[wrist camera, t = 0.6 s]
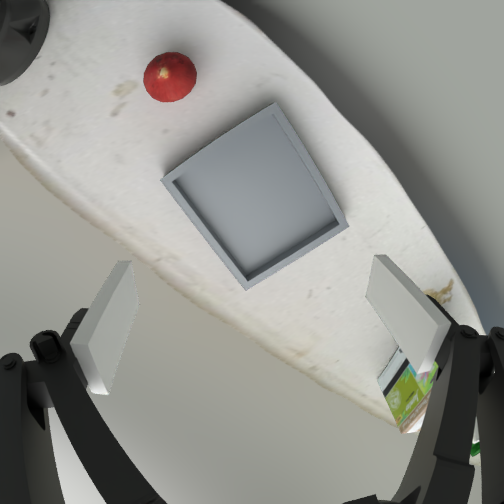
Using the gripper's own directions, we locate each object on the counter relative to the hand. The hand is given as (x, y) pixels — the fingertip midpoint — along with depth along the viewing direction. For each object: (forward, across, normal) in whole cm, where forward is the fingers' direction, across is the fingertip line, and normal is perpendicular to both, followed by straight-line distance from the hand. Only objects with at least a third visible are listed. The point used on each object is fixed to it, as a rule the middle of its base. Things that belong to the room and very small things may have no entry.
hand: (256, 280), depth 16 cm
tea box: (+23, +34, -32) cm, 52 cm away
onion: (+24, -8, +13) cm, 29 cm away
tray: (+24, +3, -2) cm, 24 cm away
